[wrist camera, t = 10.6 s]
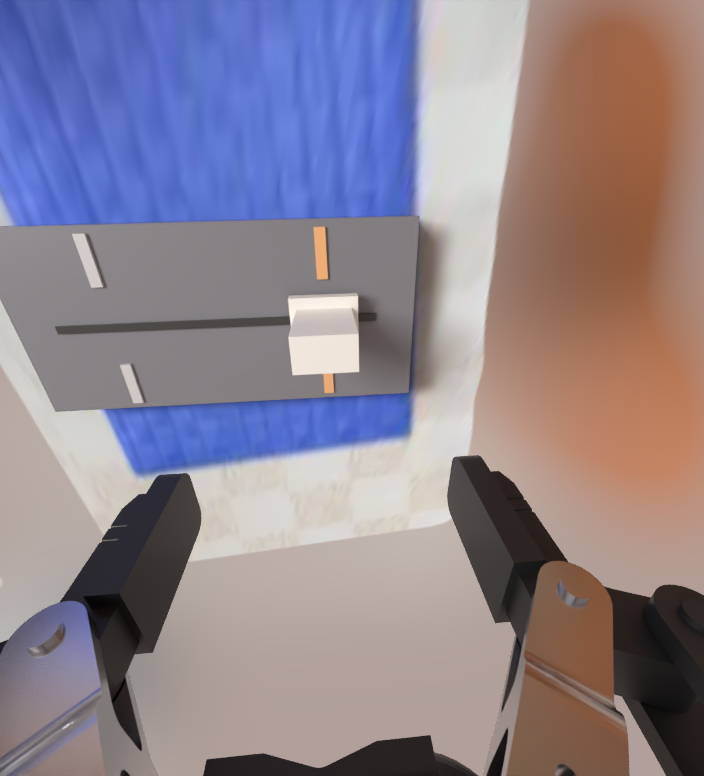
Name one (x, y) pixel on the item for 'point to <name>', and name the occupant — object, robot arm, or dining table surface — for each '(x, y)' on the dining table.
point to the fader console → (204, 307)
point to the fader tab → (324, 333)
